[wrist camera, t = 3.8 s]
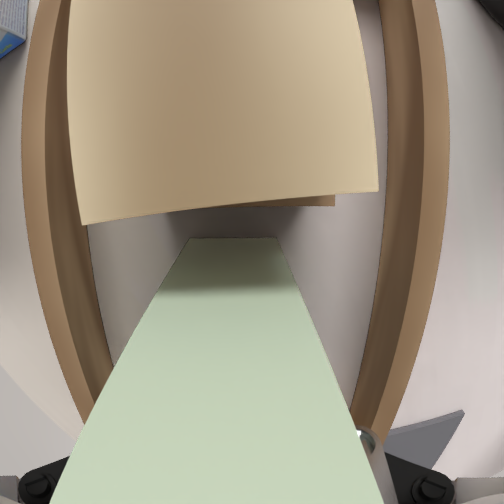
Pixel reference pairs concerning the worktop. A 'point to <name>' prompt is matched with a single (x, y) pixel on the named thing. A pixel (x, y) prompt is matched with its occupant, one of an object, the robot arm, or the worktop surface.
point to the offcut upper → (215, 104)
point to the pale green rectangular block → (221, 396)
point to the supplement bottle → (495, 9)
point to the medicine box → (12, 24)
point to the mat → (423, 439)
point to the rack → (394, 231)
